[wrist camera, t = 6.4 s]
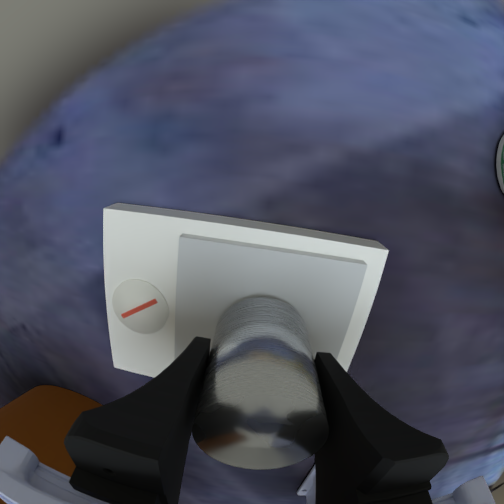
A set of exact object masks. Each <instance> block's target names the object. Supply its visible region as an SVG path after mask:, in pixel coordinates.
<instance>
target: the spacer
mask: <svg viewBox="0 0 504 504" xmlns="http://www.w3.org/2000/svg"><path fill="white" fill-rule="evenodd" d="M328 433H329V426H328V421H327V417H326V412H325V407H324V402H323V398H322V393H321V388H320V384H319V379H318V375H317V370H316V366H315V362H314V357H313V353H312V349H311V344H310V340H309V336H308V331H307V327H306V324H305V322H304V319H303V318H302V316H301V315H300V314H299V313H298V311H297V310H295V309H294V308H293V307H292V306H290V305H289V304H287V303H285V302H283V301H280V300H277V299H273V298H265V297H258V298H250V299H246V300H243V301H240V302H238V303H236V304H234V305H233V306H231V307H230V308H228V309H227V310H226V311H225V312H224V313H223V315H222V316H221V317H220V319H219V321H218V323H217V326H216V330H215V334H214V338H213V342H212V346H211V350H210V354H209V358H208V363H207V367H206V371H205V375H204V379H203V383H202V388H201V392H200V396H199V400H198V405H197V409H196V413H195V418H194V422H193V427H192V434H193V437H194V440H195V442H196V443H197V445H198V446H199V447H200V448H201V449H202V450H203V451H204V452H205V453H206V454H208V455H209V456H211V457H212V458H214V459H216V460H218V461H220V462H222V463H225V464H228V465H232V466H235V467H240V468H247V469H275V468H281V467H285V466H289V465H293V464H296V463H298V462H301V461H303V460H305V459H307V458H309V457H310V456H312V455H313V454H315V453H316V452H317V451H318V450H319V449H320V448H321V447H322V446H323V445H324V443H325V442H326V440H327V437H328Z"/></svg>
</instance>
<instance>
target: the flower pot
mask: <svg viewBox="0 0 504 504" xmlns="http://www.w3.org/2000/svg"><path fill="white" fill-rule="evenodd" d="M100 406H103V405H101V404H99V403H97V402H96V401H94V400H92V399H90V398H88V397H85V396H83V395H81V394H79V393H76V392H73V391H71V390H68V389H65V388H61V387H57V386H52V385H40V386H36V387H34V388H33V389H31V390H29V391H28V392H26V393H24V394H23V395H21V396H20V397H18V398H16V399H15V400H13V401H12V402H10V403H8V404H7V405H5V406H4V407H2V408H0V444H1V443H2V441H3V440H4V438H5V437H6V436H9V437H10V438H12V439H13V440H15V441H17V442H18V443H20V444H22V445H23V446H25V447H27V448H28V449H30V450H31V451H32V452H33V453H34V454H35V455H36V457H37V458H38V460H39V462H41V463H42V464H44V465H46V466H48V467H50V468H52V469H54V470H56V471H58V472H60V473H62V474H65V475H67V476H69V477H71V476H72V474H73V472H74V469H75V467H76V465H75V464H74V462H73V460H72V459H71V457H70V455H69V453H68V452H67V450H66V447H65V445H64V438H65V437H66V435H67V433H68V431H69V430H70V428H71V426H72V425H73V423H74V422H75V420H76V419H77V418H78V417H79V415H80V414H81V413H82V412H83V411H87V410H90V409H94V408H97V407H100ZM0 504H7V503H6V502H4V501H3V500H2V499H1V498H0Z"/></svg>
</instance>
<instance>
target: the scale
mask: <svg viewBox="0 0 504 504" xmlns="http://www.w3.org/2000/svg"><path fill="white" fill-rule="evenodd" d="M388 251H389V250H388V249H386V248H385V247H384V246H383V245H382V244H380V243H379V242H378V241H374V240H369V239H363V238H358V237H352V236H346V235H340V234H335V233H329V232H323V231H317V230H311V229H305V228H298V227H292V226H286V225H280V224H273V223H267V222H260V221H253V220H247V219H240V218H233V217H226V216H219V215H212V214H204V213H197V212H189V211H182V210H174V209H166V208H158V207H150V206H142V205H133V204H124V203H116V204H113V205H111V206H108V207H106V208H104V212H103V252H104V278H105V294H106V306H107V317H108V326H109V335H110V343H111V350H112V357H113V363H114V367H115V368H119V369H122V370H126V371H130V372H134V373H138V374H142V375H146V376H150V377H154V378H155V377H156V376H157V375H159V374H160V373H161V372H162V371H163V370H164V369H166V368H167V367H168V366H169V365H170V364H171V363H172V362H173V361H174V360H175V359H176V358H177V357H178V356H179V355H180V354H181V353H182V352H183V351H184V350H185V349H186V347H187V346H188V345H189V344H190V343H191V341H192V340H193V338H195V337H196V336H198V337H204V338H210V339H211V342H210V350H211V346H212V342H213V338H214V334H215V330H216V326H217V323H218V321H219V319H220V317H221V316H222V315H223V313H224V312H225V311H226V310H227V309H228V308H230V307H231V306H233V305H234V304H236V303H238V302H240V301H243V300H246V299H250V298H258V297H265V298H273V299H277V300H280V301H283V302H285V303H287V304H289V305H290V306H292V307H293V308H294V309H295V310H297V311H298V313H299V314H300V315H301V316H302V318H303V319H304V322H305V324H306V327H307V331H308V336H309V340H310V344H311V349H312V353H313V357H314V359H315V356H316V353H317V352H327V353H331V354H332V355H333V357H334V358H335V359H336V360H337V361H338V363H339V364H340V365H341V366H342V367H343V369H344V370H345V371H346V372H347V370H348V368H349V366H350V363H351V361H352V358H353V356H354V353H355V351H356V348H357V346H358V343H359V340H360V338H361V335H362V332H363V330H364V327H365V324H366V321H367V318H368V316H369V313H370V310H371V307H372V304H373V301H374V298H375V295H376V292H377V289H378V285H379V282H380V279H381V276H382V272H383V269H384V265H385V262H386V258H387V255H388ZM209 354H210V353H209Z"/></svg>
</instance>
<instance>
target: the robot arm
mask: <svg viewBox="0 0 504 504" xmlns="http://www.w3.org/2000/svg"><path fill="white" fill-rule="evenodd" d="M210 342H211V339H210V338H204V337H198V336H196V337H195V338H193V340H192V341H191V343H190V344H189V345H188V346H187V347H186V349H185V350H184V351H183V352H182V353H181V354H180V355H179V356H178V357H177V358H176V359H175V360H174V361H173V362H172V363H171V364H170V365H169V366H168V367H167V368H166V369H164V370H163V371H162V372H161V373H160V374H159V375H157V376H156V377H155V378H153V379H152V380H151V381H149V382H148V383H146V384H145V385H144V386H142V387H140V388H139V389H137V390H135V391H134V392H132V393H130V394H128V395H126V396H124V397H122V398H120V399H118V400H116V401H113V402H111V403H109V404H106V405H103V406H100V407H97V408H94V409H90V410H87V411H83V412H82V413H81V414H80V415H79V417H78V418H77V419H76V420H75V422H74V423H73V425H72V426H71V428H70V430H69V431H68V433H67V435H66V437H65V438H64V445H65V447H66V450H67V452H68V453H69V455H70V457H71V459H72V460H73V462H74V464H75V465H76V467H75V469H74V472H73V474H72V476H71V477H69V476H67V475H65V474H62V473H60V472H58V471H56V470H54V469H52V468H50V467H48V466H46V465H44V464H42V463H41V462H39V460H38V458H37V457H36V455H35V454H34V453H33V452H32V451H31V450H30V449H28V448H27V447H25V446H23V445H22V444H20V443H18V442H17V441H15V440H13V439H12V438H10V437H9V436H6V437H5V438H4V440H3V441H2V443H1V444H0V498H1V499H2V500H3V501H4V502H6V503H7V504H178V500H179V494H180V488H181V482H182V476H183V470H184V465H185V459H186V454H187V449H188V444H189V440H190V436H191V432H192V427H193V422H194V418H195V413H196V409H197V405H198V400H199V396H200V392H201V388H202V383H203V379H204V375H205V371H206V367H207V363H208V358H209V353H210ZM314 362H315V366H316V370H317V375H318V379H319V384H320V388H321V393H322V398H323V402H324V407H325V412H326V417H327V421H328V426H329V433H328V437H327V440H326V442H325V443H324V445H323V446H322V447H321V448H320V449H319V450H318V451H317V452H316V453H315V465H314V467H313V468H312V470H311V471H310V473H309V474H308V476H307V478H306V479H305V481H304V482H303V483H302V485H301V486H300V488H299V489H298V491H297V495H306V501H307V504H496V503H495V501H494V499H493V497H492V494H491V492H490V490H489V488H488V486H487V484H486V481H485V479H484V477H483V476H480V477H477V478H475V479H472V480H470V481H467V482H465V483H464V484H462V485H460V486H459V487H458V488H457V489H456V490H455V491H453V493H451V494H448V495H446V496H443V497H440V498H437V499H434V500H431V498H430V495H429V492H428V490H430V489H431V484H430V480H431V479H432V478H433V477H434V476H435V475H436V474H437V473H438V472H439V471H440V470H441V469H442V468H443V467H444V466H445V465H446V463H447V461H448V459H449V455H448V453H447V451H446V449H445V447H444V445H443V443H442V441H441V439H438V438H436V437H433V436H430V435H428V434H426V433H423V432H421V431H419V430H417V429H415V428H413V427H411V426H409V425H407V424H406V423H404V422H402V421H401V420H399V419H398V418H396V417H395V416H393V415H392V414H390V413H389V412H387V411H386V410H385V409H384V408H382V407H381V406H380V405H379V404H377V403H376V402H375V401H374V400H373V399H372V398H371V397H369V396H368V395H367V394H366V393H365V392H364V391H363V390H362V389H361V388H360V387H359V386H358V384H357V383H356V382H355V381H354V380H353V379H352V378H351V377H350V376H349V374H348V373H347V372H346V371H345V370H344V369H343V367H342V366H341V365H340V364H339V363H338V361H337V360H336V359H335V358H334V357H333V355H332V354H331V353H327V352H317V353H316V356H315V359H314Z"/></svg>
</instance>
